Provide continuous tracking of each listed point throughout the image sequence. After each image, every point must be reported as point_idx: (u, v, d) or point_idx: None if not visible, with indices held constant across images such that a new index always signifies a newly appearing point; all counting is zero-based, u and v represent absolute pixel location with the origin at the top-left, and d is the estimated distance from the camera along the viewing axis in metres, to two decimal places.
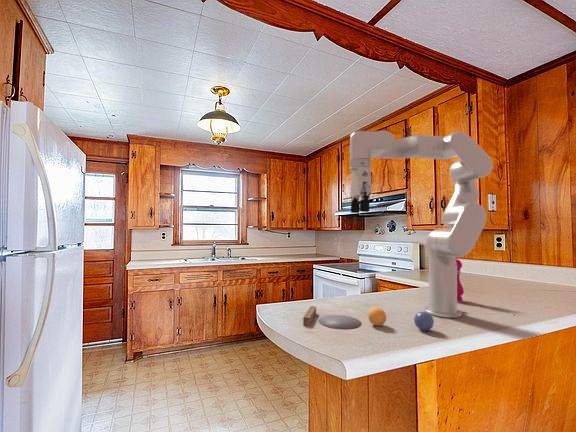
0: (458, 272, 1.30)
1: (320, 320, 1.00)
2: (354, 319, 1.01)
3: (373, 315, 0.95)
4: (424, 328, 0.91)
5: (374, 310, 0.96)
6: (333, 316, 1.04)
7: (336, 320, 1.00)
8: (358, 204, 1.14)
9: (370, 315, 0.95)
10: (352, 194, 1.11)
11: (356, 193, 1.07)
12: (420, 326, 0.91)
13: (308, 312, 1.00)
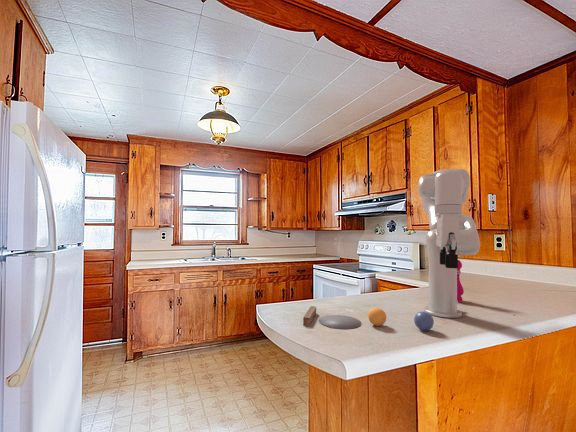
0: (458, 272, 1.30)
1: (320, 320, 1.00)
2: (354, 319, 1.01)
3: (373, 315, 0.95)
4: (424, 328, 0.91)
5: (374, 310, 0.96)
6: (333, 316, 1.04)
7: (336, 320, 1.00)
8: None
9: (370, 315, 0.95)
10: None
11: None
12: (420, 326, 0.91)
13: (308, 312, 1.00)
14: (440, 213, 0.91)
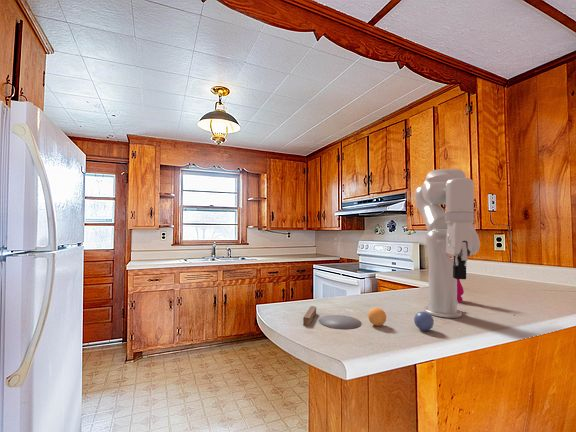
0: None
1: (320, 320, 1.00)
2: (354, 319, 1.01)
3: (373, 315, 0.95)
4: (424, 328, 0.91)
5: (374, 310, 0.96)
6: (333, 316, 1.04)
7: (336, 320, 1.00)
8: None
9: (370, 315, 0.95)
10: None
11: None
12: (420, 326, 0.91)
13: (308, 312, 1.00)
14: (452, 221, 0.90)
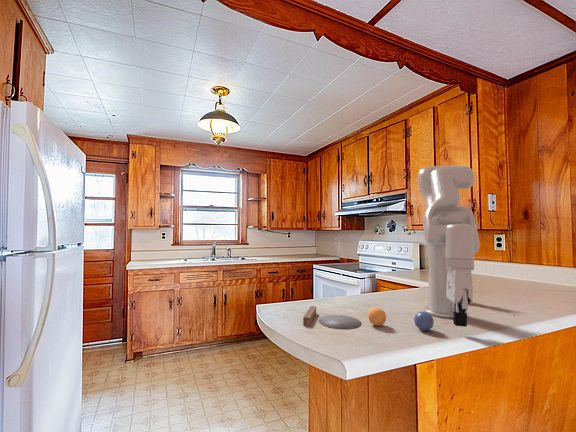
0: None
1: (320, 320, 1.00)
2: (354, 319, 1.01)
3: (373, 315, 0.95)
4: (424, 328, 0.91)
5: (374, 310, 0.96)
6: (333, 316, 1.04)
7: (336, 320, 1.00)
8: None
9: (370, 315, 0.95)
10: None
11: None
12: (420, 326, 0.91)
13: (308, 312, 1.00)
14: (452, 267, 0.89)
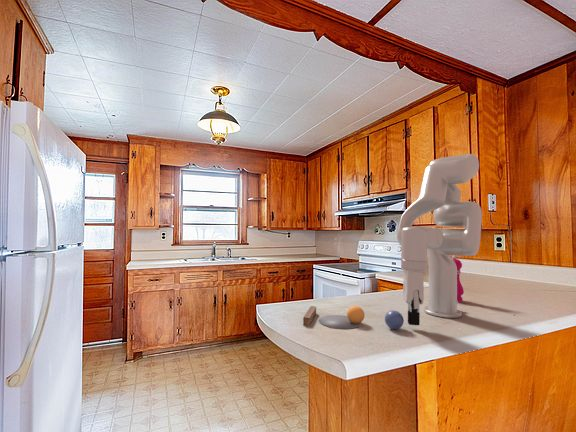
0: (458, 272, 1.30)
1: (320, 320, 1.00)
2: None
3: (356, 321, 0.96)
4: (398, 319, 0.91)
5: (352, 322, 0.97)
6: (333, 316, 1.04)
7: (336, 320, 1.00)
8: None
9: (359, 322, 0.96)
10: None
11: None
12: (401, 321, 0.91)
13: (308, 312, 1.00)
14: (406, 269, 0.92)
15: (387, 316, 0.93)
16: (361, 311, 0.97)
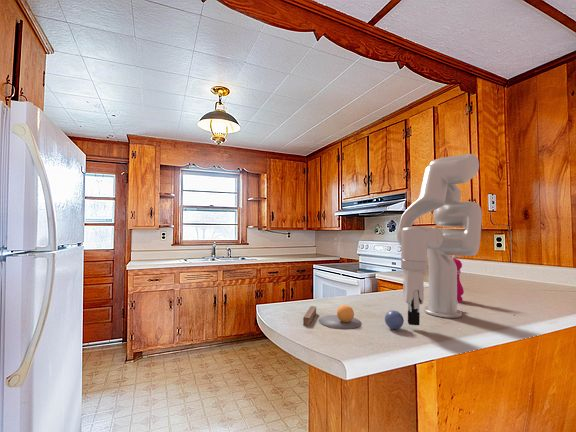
0: (458, 272, 1.30)
1: (320, 320, 1.00)
2: (354, 319, 1.01)
3: (349, 316, 0.96)
4: (398, 319, 0.91)
5: (350, 320, 0.97)
6: (333, 316, 1.04)
7: (336, 320, 1.00)
8: None
9: (351, 314, 0.97)
10: None
11: None
12: (401, 321, 0.91)
13: (308, 312, 1.00)
14: (406, 269, 0.92)
15: (387, 316, 0.93)
16: (342, 307, 0.98)
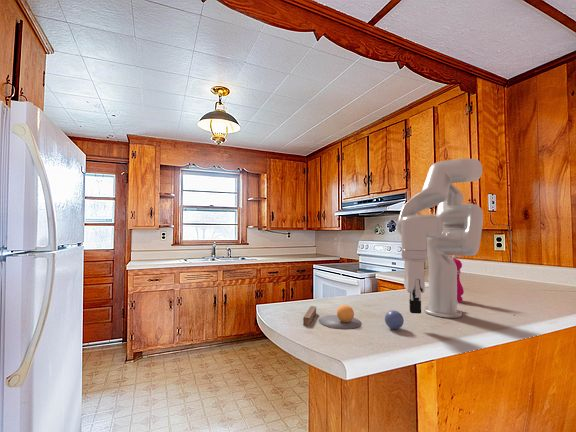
0: (458, 272, 1.30)
1: (320, 320, 1.00)
2: (354, 319, 1.01)
3: (349, 316, 0.96)
4: (398, 319, 0.91)
5: (350, 320, 0.97)
6: (333, 316, 1.04)
7: (336, 320, 1.00)
8: None
9: (351, 314, 0.97)
10: None
11: None
12: (401, 321, 0.91)
13: (308, 312, 1.00)
14: (406, 258, 0.93)
15: (387, 316, 0.93)
16: (342, 307, 0.98)
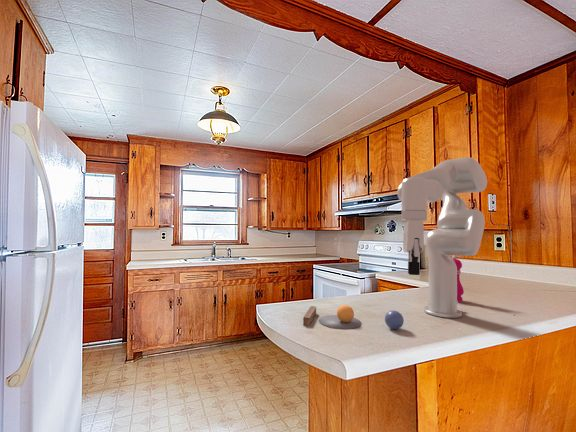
0: (458, 272, 1.30)
1: (320, 320, 1.00)
2: (354, 319, 1.01)
3: (349, 316, 0.96)
4: (398, 319, 0.91)
5: (350, 320, 0.97)
6: (333, 316, 1.04)
7: (336, 320, 1.00)
8: None
9: (351, 314, 0.97)
10: (422, 250, 0.92)
11: None
12: (401, 321, 0.91)
13: (308, 312, 1.00)
14: (406, 218, 0.93)
15: (387, 316, 0.93)
16: (342, 307, 0.98)
